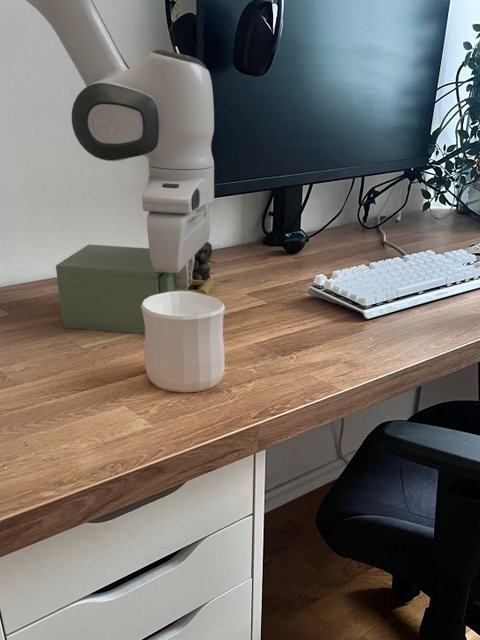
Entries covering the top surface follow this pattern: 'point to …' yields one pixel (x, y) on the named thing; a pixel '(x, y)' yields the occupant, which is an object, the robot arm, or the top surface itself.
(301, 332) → the top surface
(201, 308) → the cup
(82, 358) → the top surface
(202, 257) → the fruit
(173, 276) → the drawer
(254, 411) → the top surface
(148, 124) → the robot arm
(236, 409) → the top surface
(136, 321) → the cabinet
